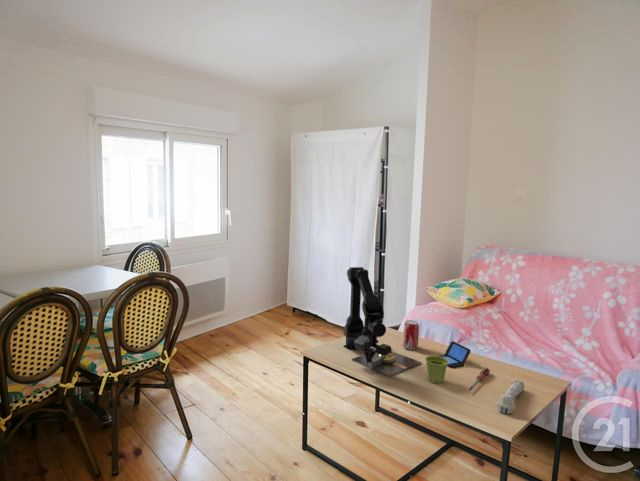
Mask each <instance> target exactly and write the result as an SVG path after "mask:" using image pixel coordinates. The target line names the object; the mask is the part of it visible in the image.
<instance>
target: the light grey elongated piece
mask: <svg viewBox="0 0 640 481" xmlns="http://www.w3.org/2000/svg"><path fill="white" fill-rule="evenodd" d="M524 389H525V383H524V382H523V381H522V380H518V379H517V380H515V381H513V382H511V385H510V387H508V389H507V391H506V392H505V393H502V394H501V395H500V400H498V401H497V410H498V412H500V413H501V414H505V415H509V414H513V409H514V408H515V404H514V403H513V401H514V400H515V398H516V397H517V396H518V395H520V394H521V393H523V392H524Z"/></svg>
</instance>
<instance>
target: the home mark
mask: <svg viewBox="0 0 640 481" xmlns="http://www.w3.org/2000/svg"><path fill="white" fill-rule="evenodd" d="M393 365H396V366H398V367H401V368H403V369H405V368H407V367H405V366H402V365H400V364H397V363H394V364H393Z"/></svg>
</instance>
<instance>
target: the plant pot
mask: <svg viewBox="0 0 640 481" xmlns="http://www.w3.org/2000/svg"><path fill="white" fill-rule="evenodd" d="M424 360H425V364H426V371H427V380H428V381H429V382H431V383H433V384H441V383H443V382H444V379H445V374H446V371H447V368H448V366H447V365H448V364H449V361H448V360H447V359H446V358H443V357H440V356H439V355H428V356H426V357H425V358H424Z"/></svg>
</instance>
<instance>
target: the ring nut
mask: <svg viewBox="0 0 640 481" xmlns="http://www.w3.org/2000/svg"><path fill="white" fill-rule="evenodd" d="M396 353H397V351H394V349H392V348H391V353H389V354H386V355H380V354H378V358H376V359H374V360H371V361H369V362H368V367H367V368H369V369H371V370H373V369H372V368H374V367H376V366H378V365H380V364H382V363H393V362H395V361H396Z"/></svg>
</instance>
